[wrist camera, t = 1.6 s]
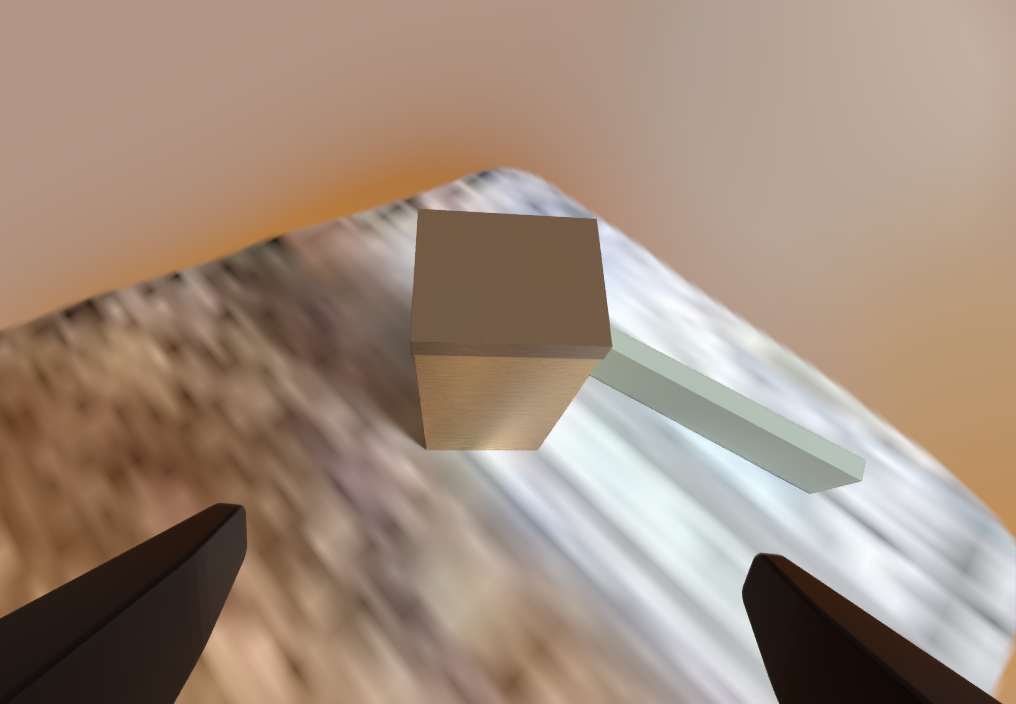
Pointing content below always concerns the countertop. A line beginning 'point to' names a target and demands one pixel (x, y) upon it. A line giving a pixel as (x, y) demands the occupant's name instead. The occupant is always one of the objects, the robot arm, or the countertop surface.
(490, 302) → the brown block
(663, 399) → the rail
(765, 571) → the robot arm
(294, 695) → the countertop surface
